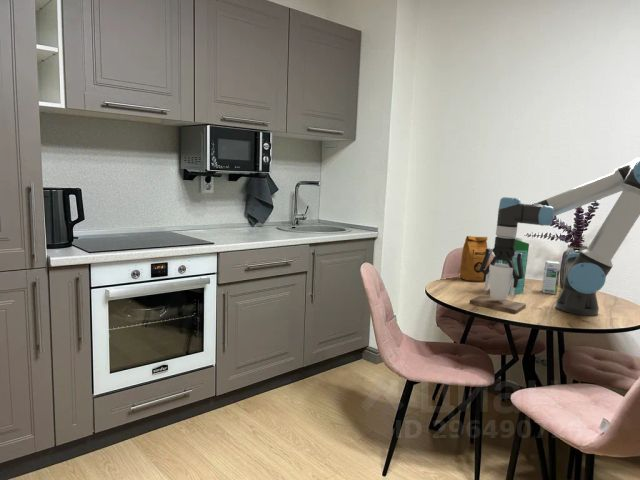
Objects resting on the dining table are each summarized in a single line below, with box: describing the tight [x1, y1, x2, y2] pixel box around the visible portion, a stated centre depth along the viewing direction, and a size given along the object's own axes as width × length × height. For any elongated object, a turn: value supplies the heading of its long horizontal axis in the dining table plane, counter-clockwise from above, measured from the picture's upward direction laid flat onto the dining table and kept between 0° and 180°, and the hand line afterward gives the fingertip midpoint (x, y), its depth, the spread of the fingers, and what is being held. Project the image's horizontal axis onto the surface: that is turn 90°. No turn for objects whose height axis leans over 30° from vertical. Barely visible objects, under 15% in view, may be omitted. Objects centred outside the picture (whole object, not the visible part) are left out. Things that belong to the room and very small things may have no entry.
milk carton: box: [496, 236, 530, 295], centre depth 219 cm, size 9×9×25 cm
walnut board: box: [469, 294, 527, 315], centre depth 194 cm, size 18×13×2 cm
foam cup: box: [489, 262, 513, 300], centre depth 193 cm, size 10×9×13 cm
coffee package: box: [459, 235, 490, 282], centre depth 239 cm, size 10×12×22 cm
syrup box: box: [541, 260, 561, 295], centre depth 223 cm, size 6×6×14 cm
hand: (498, 292), depth 193 cm, fingers closed on foam cup, 9 cm apart
